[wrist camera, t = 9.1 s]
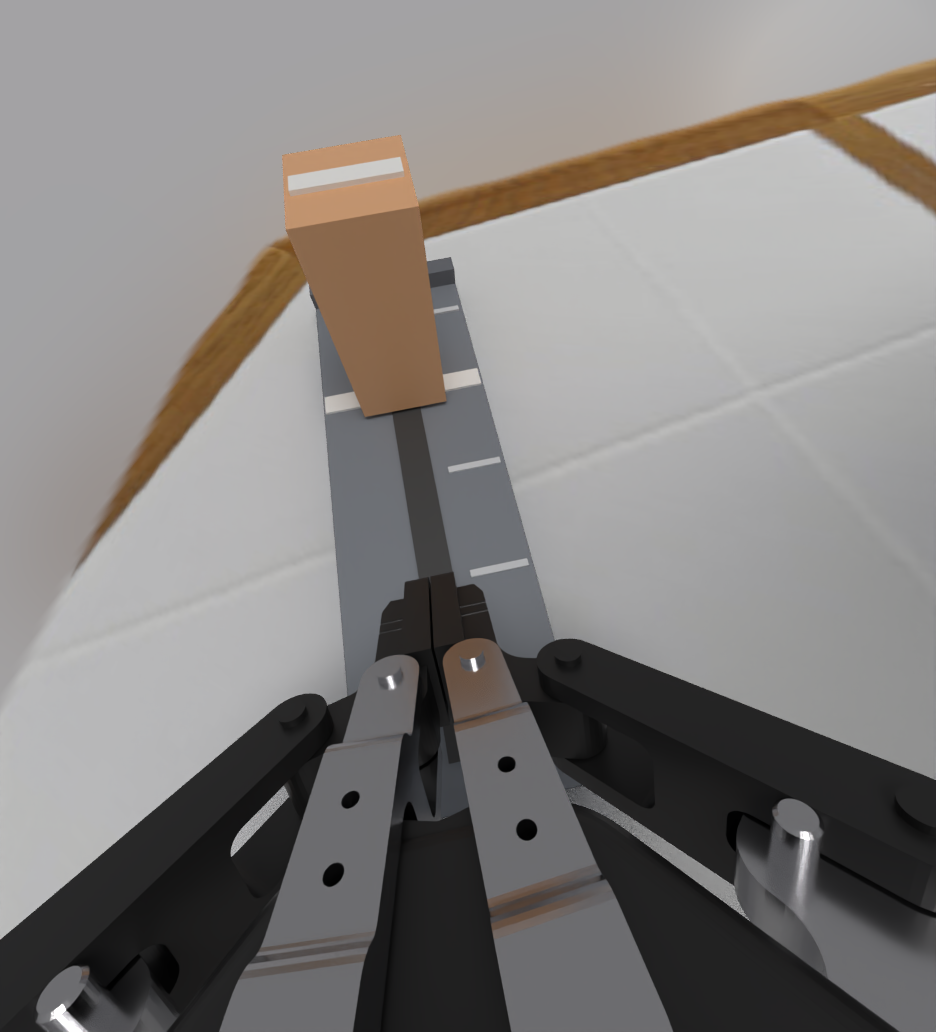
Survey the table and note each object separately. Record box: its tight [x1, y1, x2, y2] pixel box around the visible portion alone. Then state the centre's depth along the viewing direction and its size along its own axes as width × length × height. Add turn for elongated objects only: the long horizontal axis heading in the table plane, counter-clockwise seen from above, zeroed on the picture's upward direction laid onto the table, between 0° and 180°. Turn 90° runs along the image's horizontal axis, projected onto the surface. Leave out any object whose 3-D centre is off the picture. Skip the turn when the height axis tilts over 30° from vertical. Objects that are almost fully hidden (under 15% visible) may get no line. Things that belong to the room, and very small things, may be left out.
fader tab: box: [282, 135, 446, 417], centre depth 18 cm, size 4×4×9 cm
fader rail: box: [309, 257, 582, 818], centre depth 20 cm, size 26×8×2 cm, turn 11°
